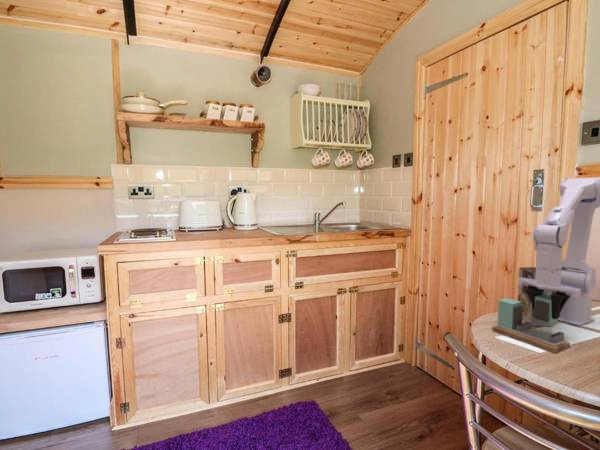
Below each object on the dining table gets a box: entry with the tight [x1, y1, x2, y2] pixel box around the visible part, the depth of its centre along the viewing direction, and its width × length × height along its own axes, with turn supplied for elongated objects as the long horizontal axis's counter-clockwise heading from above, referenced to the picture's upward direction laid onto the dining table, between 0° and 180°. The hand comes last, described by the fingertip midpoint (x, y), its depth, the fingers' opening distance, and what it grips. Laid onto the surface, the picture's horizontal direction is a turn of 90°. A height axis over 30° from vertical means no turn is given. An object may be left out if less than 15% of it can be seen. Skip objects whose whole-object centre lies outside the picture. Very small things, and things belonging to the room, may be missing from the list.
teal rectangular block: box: [534, 294, 559, 325], centre depth 94 cm, size 5×4×7 cm
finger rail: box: [492, 297, 571, 354], centre depth 92 cm, size 7×16×9 cm, turn 27°
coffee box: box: [517, 266, 555, 328], centre depth 104 cm, size 9×6×16 cm
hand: (546, 315), depth 94 cm, fingers closed on teal rectangular block, 4 cm apart
